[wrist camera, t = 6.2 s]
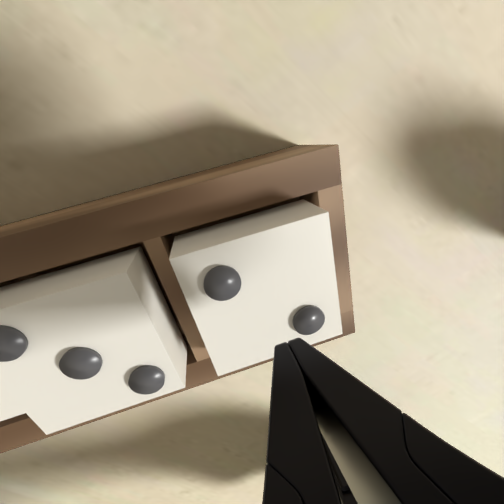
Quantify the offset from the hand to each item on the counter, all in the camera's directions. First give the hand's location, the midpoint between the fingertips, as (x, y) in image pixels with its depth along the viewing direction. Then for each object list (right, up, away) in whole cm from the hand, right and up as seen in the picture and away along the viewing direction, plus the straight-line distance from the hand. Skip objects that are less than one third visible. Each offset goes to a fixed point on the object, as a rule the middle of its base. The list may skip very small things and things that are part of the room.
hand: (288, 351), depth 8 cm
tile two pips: (-1, +2, +5) cm, 5 cm away
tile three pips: (-8, 0, +4) cm, 9 cm away
